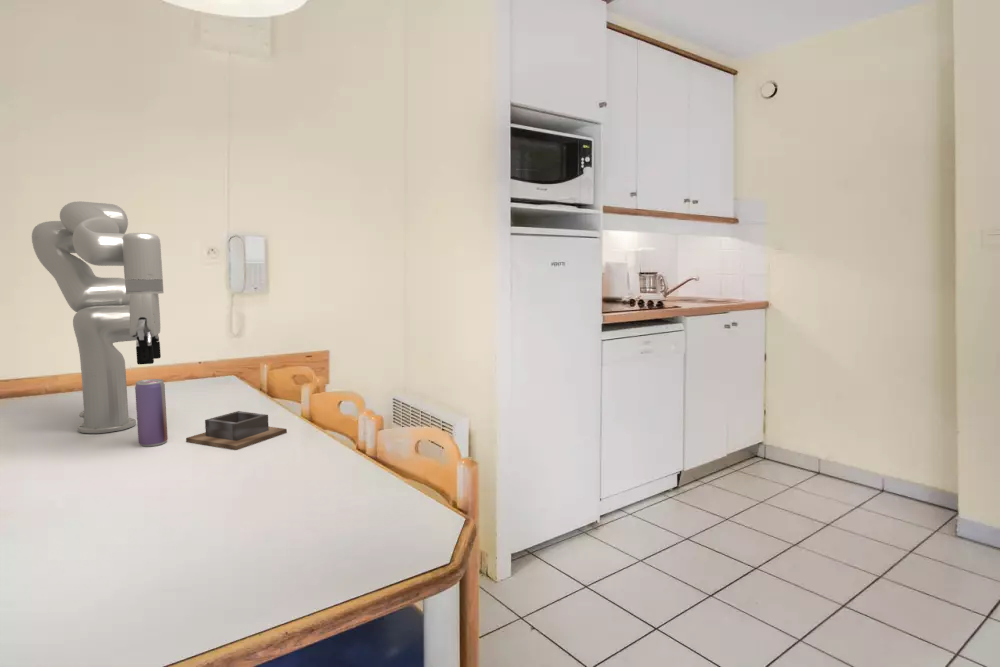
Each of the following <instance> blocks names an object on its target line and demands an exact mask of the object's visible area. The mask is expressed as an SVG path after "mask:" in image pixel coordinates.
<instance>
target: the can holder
mask: <svg viewBox="0 0 1000 667" xmlns="http://www.w3.org/2000/svg"><path fill="white" fill-rule="evenodd" d="M204 423H205V424H204V426H205V427H204V428H205V432H201V433H198V434H195V435H192V436H188V437H186V438H185V440H186V441H185V442H186V443H191V444H198V445H202V446H208V447H213V448H214V447H215V448H220V449H228V450H232V451H233V450H234V451H237V450H241V449H244V448H246V447H250V446H253V445H255V444H258V443H261V442H264V441H267V440H270V439H272V438H275V437H278V436H282V435H284V434H287V433H288V431H287V428H282V427H275V426H269V414H264V413H256V412H249V411H240V410H237V411H233V412H230V413H229V412H228V413H225V414H222V415H219V416H215V417H211V418H207V419H205V420H204Z"/></svg>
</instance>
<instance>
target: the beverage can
mask: <svg viewBox="0 0 1000 667" xmlns="http://www.w3.org/2000/svg"><path fill="white" fill-rule="evenodd" d="M134 389H135V390H134V391H135V407H136V408H135V409H136V424H137V426H136V427H137V439H138V440H137V441H138V444H139V445H140V447H143V448H144V447H146V448H148V447H149V448H151V447H156V446H162V445H164V444H166V443H167V442H168V439H169V437H168V422H167V420H168V419H167V405H166V404H167V402H166V387H165V382H164V379H160V378H149V379H142V380H137V381H135V386H134Z"/></svg>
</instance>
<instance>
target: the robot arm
mask: <svg viewBox="0 0 1000 667" xmlns="http://www.w3.org/2000/svg"><path fill="white" fill-rule="evenodd" d="M128 225H129V222H128V216H127V214H126V211H125V210H124V209H123V208H122V207H120V206H118V205H116V204H113V203H103V202H92V201H72V202H68V203H67V204H65V205H63V207H61V209H60V211H59V220H49V221H44V222H41V223H38V224H37V225H35V226H34V227H33V229H32V230H31V231H32V232H31V244H32V247H33V251H34V253H35V255H36V258H37V259H38V260H39V262H40V263H41V265H42V266H43V267H44V268H45V270H46V271H47V272H48V273H49V274H51V276H52V278H54V280H55V281H56V284H57V286H58V288H59V290H60V291H61V293H62V296H63V297H64V299H65V301H66V303H67V304H68V305H69V308H70V309H71V310H73V311H74V312H75V314H74V316H73V319H72V325H73V326H72V327H73V332H74V335H75V337H76V343H77V347H78V354H79V361H80V371H81V384H82V385H81V386H82V387H81V388H82V400H83V401H82V402H83V411H82V412H80V413H79V414H78V416H79V418H83V423H79V425H78V426H77V431H78V432H79V433H83V434H105V433H112V432H119V431H123V430H126V429H129V428H132V427H134V426H135V425H136V424H137V419H135V418H133V417H129V404H128V403H129V402H128V387H127V372H126V360H125V357H124V356H123V353H121V351H120V350H118V348H116V346H114V343H123V342H133V341H136V343H135V346H136V347H135V351H136V363H137V365H151V364H154V362H155V361H154V360H155V359H160V358H161V342H160V336H159V334H160V333H161V312H160V300H159V299H160V298H159V294H164V278H163V264H162V249H161V248H162V246H161V239H160V237H159V236H158V235H157V234H154V233H150V232H128V233H126V232H127V231H128ZM75 254H76V255H77V256H76V255H75ZM89 264H90V265H93V266H99V267H107V266H108V267H113V266H114V267H123V273H124V274H123V275H124V278H122V277H101V276H97V275H95V273H94V271H93V269H92V267H91V266H90V265H89Z"/></svg>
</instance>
